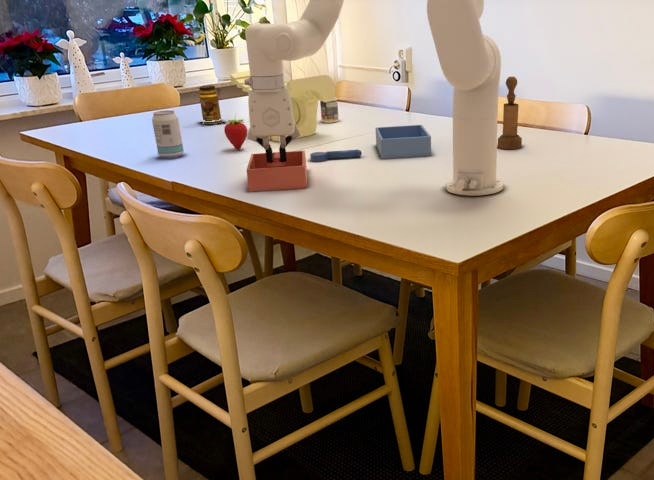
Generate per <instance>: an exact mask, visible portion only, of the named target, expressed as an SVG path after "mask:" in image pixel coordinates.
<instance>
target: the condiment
mask: <svg viewBox="0 0 654 480" xmlns="http://www.w3.org/2000/svg"><path fill="white" fill-rule="evenodd" d="M199 94H200V95H199V103H200V109H201V116H202V121H203V120H205V121H212V120H219V119H221V120H222V115H221V109H220V102H219V96H218V94H217V90H216V86H215V85H202V86H199ZM221 120H220V121H215V122H204V124H215V125H218V124H217V123H220V122H222V121H223V120H222V121H221Z"/></svg>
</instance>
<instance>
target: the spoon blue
mask: <svg viewBox="0 0 654 480" xmlns="http://www.w3.org/2000/svg"><path fill="white" fill-rule="evenodd" d="M362 155H363V153H362V150H360V149H347V150H329V151H325V152H324V151H316V152H311V153H310V154H309V158H310V161H311V162H315V163H321V162H326V161H327V160H338V159H340V160H341V159H352V158H353V159H354V158H355V159H356V158H361V157H362Z"/></svg>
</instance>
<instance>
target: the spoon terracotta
mask: <svg viewBox="0 0 654 480" xmlns="http://www.w3.org/2000/svg"><path fill="white" fill-rule="evenodd" d="M275 167H286V164H285V163H283V162H280V153H275V154H274V158H273V163H269V164H267V168H275Z"/></svg>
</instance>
